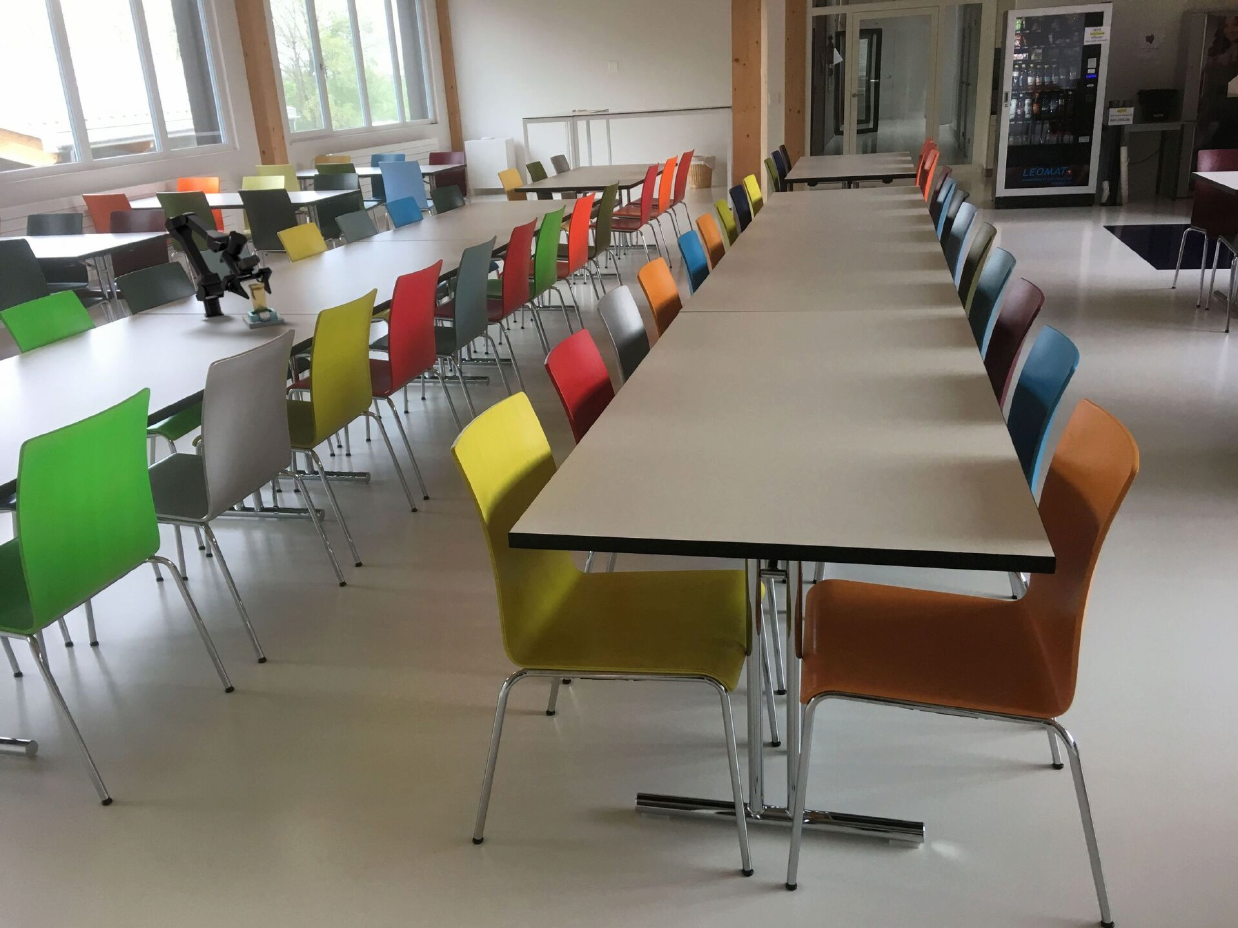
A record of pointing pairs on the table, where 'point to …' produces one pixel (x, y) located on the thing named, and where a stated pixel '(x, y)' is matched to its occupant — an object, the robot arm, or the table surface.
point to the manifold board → (261, 324)
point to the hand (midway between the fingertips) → (260, 296)
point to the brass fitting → (258, 297)
